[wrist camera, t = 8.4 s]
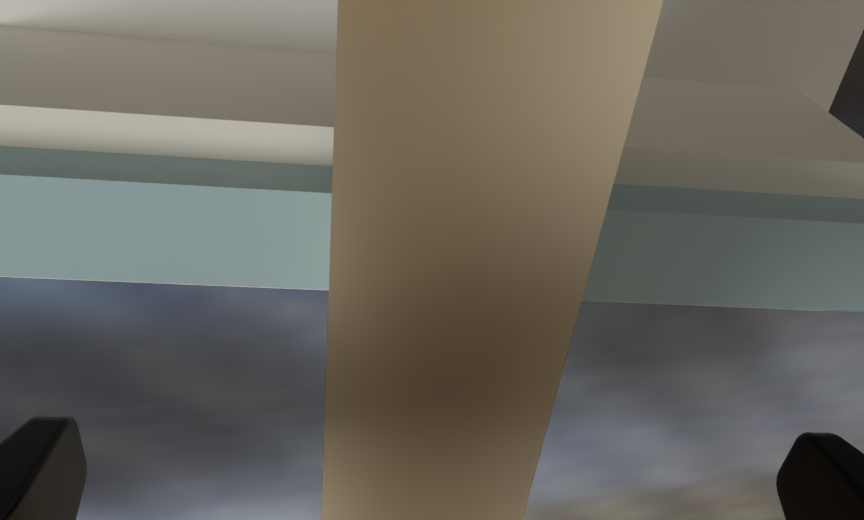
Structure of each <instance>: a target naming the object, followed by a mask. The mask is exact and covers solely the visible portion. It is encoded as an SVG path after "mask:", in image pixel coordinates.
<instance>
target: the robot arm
mask: <svg viewBox="0 0 864 520" xmlns="http://www.w3.org/2000/svg"><path fill="white" fill-rule="evenodd" d="M86 472H87V466H86V459H85V455H84V451H83V446H82V442H81V438H80V433H79V429H78V425H77V423H76V421H75V419H74V418H73V417H71V416H67V415H38V416H35V417H33V418H31V419H30V420H28V421H27V422H26V423H25V424H23V425H22V426H21V427H20V428H18V429H17V430H16V431H15V432H14V433H12V434H11V435H10V436H9V437H7V438H6V439H5V440H4V441H3V442H1V443H0V520H76V516H77V513H78V509H79V505H80V501H81V497H82V493H83V489H84V485H85V481H86ZM776 485H777V492H778V496H779V499H780V502H781V505H782V509H783V512H784V515H785V518H786V520H864V454H863V453H862V452H860V451H859V450H858V449H856V448H855V447H853V446H852V445H851V444H849V443H848V442H846V441H845V440H844V439H842V438H841V437H839V436H838V435H835V434H832V433H812V432H807V433H803V434H801V435H800V436H799V437H798V438H797V439H796V441H795V442H794V444H793V446H792V448H791V450H790V452H789V453H788V455H787V457H786V459H785V461H784V462H783V464H782V466H781V468H780V470H779V472H778V475H777V482H776Z"/></svg>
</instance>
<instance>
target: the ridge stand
mask: <svg viewBox="0 0 864 520" xmlns="http://www.w3.org/2000/svg"><path fill="white" fill-rule="evenodd" d="M337 15H338V0H0V277H17V278H41V279H66V280H90V281H114V282H138V283H162V284H186V285H210V286H234V287H258V288H283V289H307V290H329V265H330V234H331V203H332V171H333V140H334V109H335V77H336V46H337ZM863 30H864V0H663V4H662V7H661V11H660V15H659V19H658V22H657V26H656V30H655V33H654V37H653V41H652V44H651V48H650V52H649V55H648V59H647V63H646V66H645V70H644V74H643V77H642V81H641V85H640V88H639V92H638V96H637V99H636V103H635V107H634V110H633V114H632V118H631V121H630V125H629V129H628V132H627V136H626V140H625V143H624V147H623V151H622V154H621V158H620V162H619V165H618V169H617V173H616V176H615V180H614V184H613V187H612V191H611V195H610V199H609V202H608V206H607V210H606V213H605V217H604V221H603V224H602V228H601V232H600V235H599V239H598V243H597V246H596V250H595V254H594V257H593V261H592V265H591V268H590V272H589V276H588V279H587V283H586V287H585V290H584V294H583V298H582V301H596V302H620V303H644V304H668V305H692V306H717V307H741V308H765V309H789V310H813V311H826V310H827V311H851V312H864V138H862V137H861V136H860V135H858V134H857V133H856V132H854V131H853V130H851V129H850V128H849V127H847V126H846V125H845V124H843V123H842V122H841V121H839V120H838V119H837V118H835V117H834V116H833V115H831V114H830V113H829V112H828V111H829V109H830V107H831V104H832V102H833V100H834V97H835V95H836V93H837V90H838V88H839V86H840V83H841V81H842V79H843V76H844V74H845V72H846V69H847V67H848V65H849V62H850V60H851V58H852V55H853V53H854V51H855V48H856V46H857V44H858V41H859V39H860V37H861V35H862V32H863Z"/></svg>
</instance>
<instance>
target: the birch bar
mask: <svg viewBox="0 0 864 520" xmlns="http://www.w3.org/2000/svg"><path fill="white" fill-rule="evenodd" d="M662 4H663V0H338V15H337V46H336V77H335V109H334V140H333V171H332V203H331V234H330V265H329V296H328V328H327V359H326V390H325V422H324V453H323V484H322V515H321V520H522V518H523V514H524V511H525V507H526V503H527V500H528V496H529V492H530V489H531V485H532V481H533V478H534V474H535V470H536V467H537V463H538V459H539V456H540V452H541V448H542V445H543V441H544V437H545V434H546V430H547V426H548V423H549V419H550V415H551V412H552V408H553V404H554V401H555V397H556V393H557V390H558V386H559V382H560V379H561V375H562V371H563V367H564V364H565V360H566V356H567V353H568V349H569V345H570V342H571V338H572V334H573V331H574V327H575V323H576V320H577V316H578V312H579V309H580V305H581V301H582V298H583V294H584V290H585V287H586V283H587V279H588V276H589V272H590V268H591V265H592V261H593V257H594V254H595V250H596V246H597V243H598V239H599V235H600V232H601V228H602V224H603V221H604V217H605V213H606V210H607V206H608V202H609V199H610V195H611V191H612V187H613V184H614V180H615V176H616V173H617V169H618V165H619V162H620V158H621V154H622V151H623V147H624V143H625V140H626V136H627V132H628V129H629V125H630V121H631V118H632V114H633V110H634V107H635V103H636V99H637V96H638V92H639V88H640V85H641V81H642V77H643V74H644V70H645V66H646V63H647V59H648V55H649V52H650V48H651V44H652V41H653V37H654V33H655V30H656V26H657V22H658V19H659V15H660V11H661V7H662Z"/></svg>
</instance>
